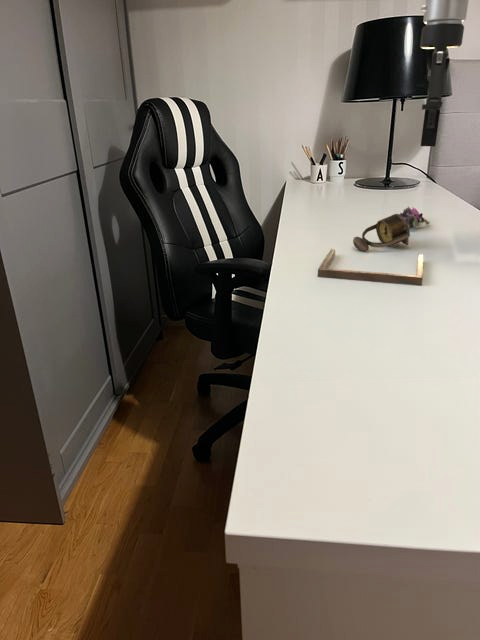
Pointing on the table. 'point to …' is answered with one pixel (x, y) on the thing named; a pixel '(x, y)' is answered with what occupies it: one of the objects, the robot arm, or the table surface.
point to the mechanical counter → (385, 233)
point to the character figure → (413, 217)
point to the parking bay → (370, 273)
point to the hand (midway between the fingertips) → (427, 142)
